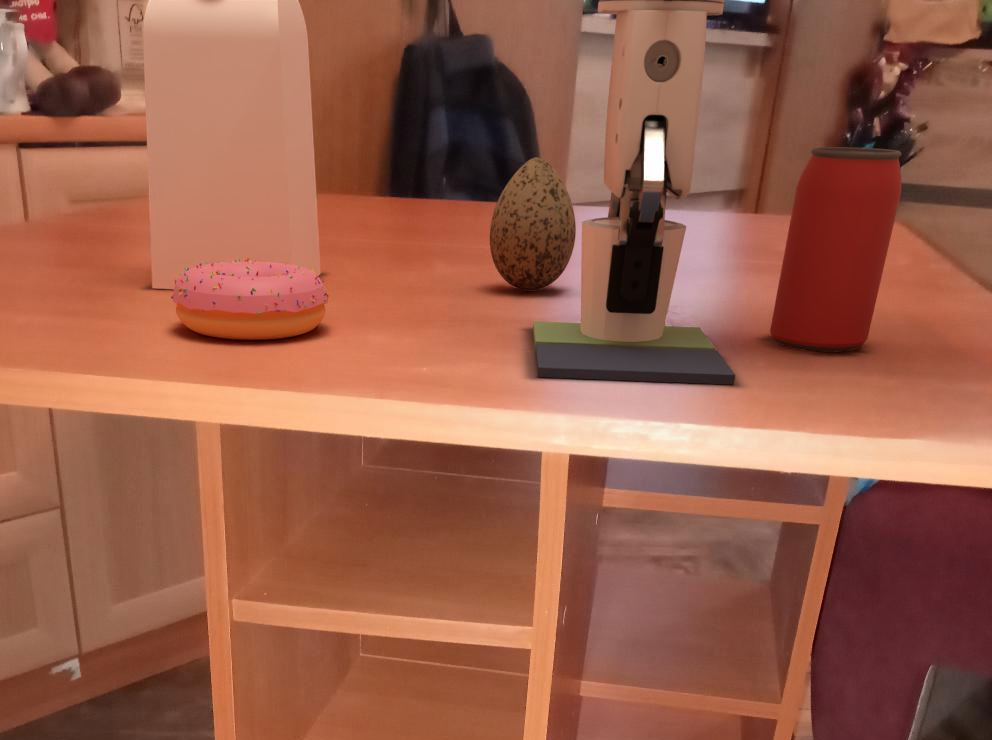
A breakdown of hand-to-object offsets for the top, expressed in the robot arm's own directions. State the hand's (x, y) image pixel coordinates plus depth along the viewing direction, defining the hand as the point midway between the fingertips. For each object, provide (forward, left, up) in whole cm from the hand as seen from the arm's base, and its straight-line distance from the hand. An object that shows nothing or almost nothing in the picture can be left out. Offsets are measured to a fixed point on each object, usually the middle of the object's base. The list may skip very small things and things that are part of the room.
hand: (625, 300), depth 79 cm
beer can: (-14, -2, -3) cm, 14 cm away
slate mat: (0, +8, -3) cm, 8 cm away
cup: (0, 0, -2) cm, 2 cm away
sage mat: (0, 0, -3) cm, 3 cm away
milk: (+31, -21, -3) cm, 38 cm away
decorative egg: (+6, -21, -3) cm, 22 cm away
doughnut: (+26, 0, -3) cm, 26 cm away
